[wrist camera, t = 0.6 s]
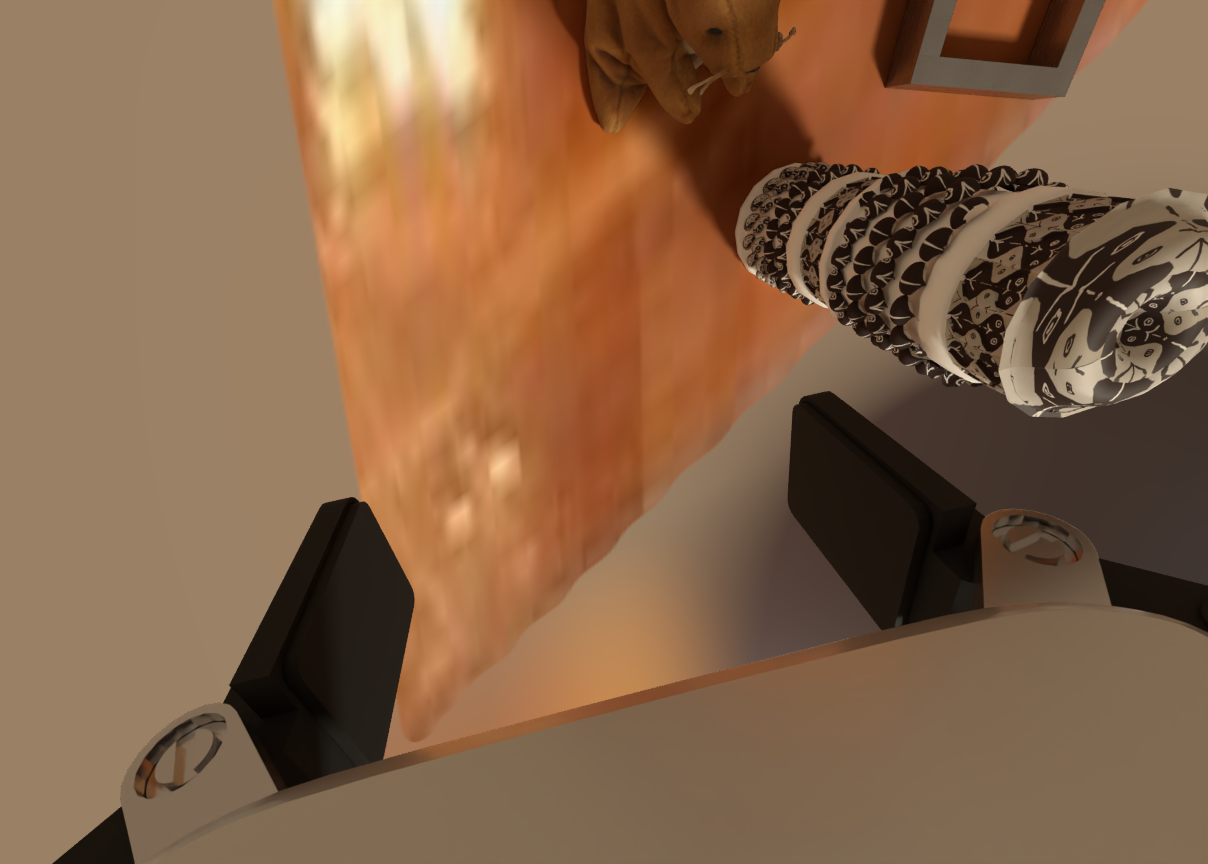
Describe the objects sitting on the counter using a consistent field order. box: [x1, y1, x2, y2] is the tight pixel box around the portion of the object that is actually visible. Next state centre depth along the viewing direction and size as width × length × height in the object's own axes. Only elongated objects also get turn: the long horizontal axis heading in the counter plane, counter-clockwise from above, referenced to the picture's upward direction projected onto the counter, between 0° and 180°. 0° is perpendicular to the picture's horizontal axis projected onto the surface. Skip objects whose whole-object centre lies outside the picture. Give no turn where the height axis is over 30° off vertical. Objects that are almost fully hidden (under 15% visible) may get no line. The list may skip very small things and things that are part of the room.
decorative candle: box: [735, 162, 1208, 417], centre depth 27 cm, size 9×9×25 cm
